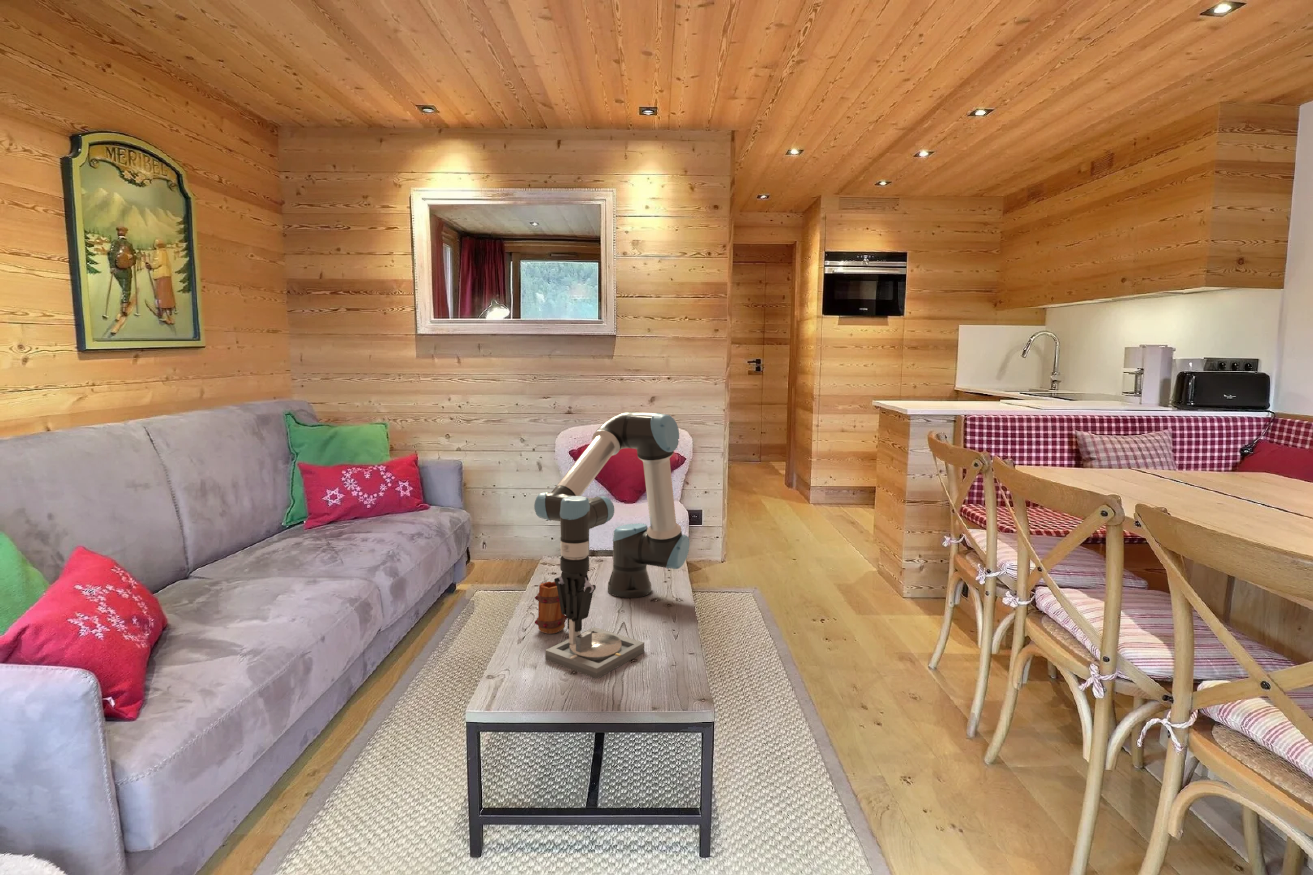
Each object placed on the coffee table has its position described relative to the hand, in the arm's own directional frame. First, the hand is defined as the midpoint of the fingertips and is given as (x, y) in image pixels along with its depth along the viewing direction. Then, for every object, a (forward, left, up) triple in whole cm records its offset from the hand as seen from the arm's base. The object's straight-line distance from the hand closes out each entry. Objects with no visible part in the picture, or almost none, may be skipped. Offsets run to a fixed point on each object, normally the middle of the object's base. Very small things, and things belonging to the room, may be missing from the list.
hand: (574, 642), depth 182 cm
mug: (-12, -17, -5) cm, 22 cm away
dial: (-5, +3, -3) cm, 7 cm away
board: (-5, +3, -5) cm, 8 cm away
